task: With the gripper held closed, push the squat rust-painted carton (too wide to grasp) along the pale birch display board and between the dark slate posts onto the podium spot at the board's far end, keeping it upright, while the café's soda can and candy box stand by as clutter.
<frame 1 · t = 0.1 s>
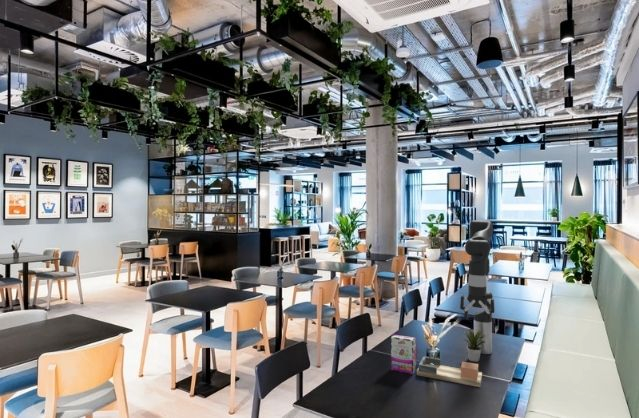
hand: (477, 320, 178), 29 cm above the table, fingers open, 8 cm apart
display board: (449, 375, 187), on the table
candy bar box: (403, 371, 193), on the table
soda can: (409, 364, 200), on the table
carton: (469, 375, 183), point 2 cm above the table, touching display board
house plant: (474, 360, 206), on the table
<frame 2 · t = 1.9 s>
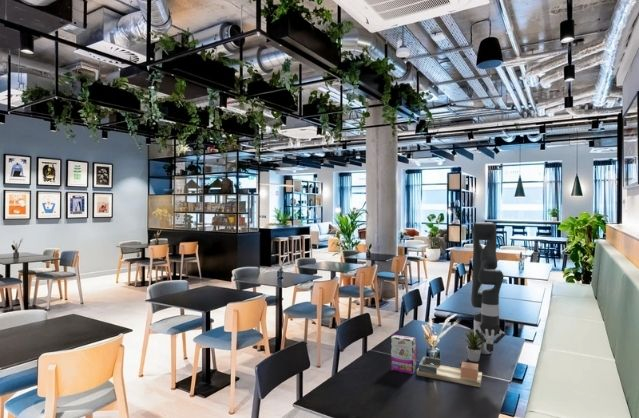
hand: (489, 351, 179), 15 cm above the table, fingers closed
nothing on the table moved.
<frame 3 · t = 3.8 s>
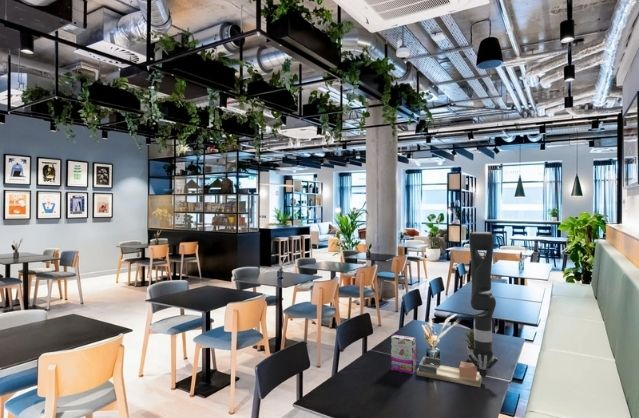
hand: (482, 376, 181), 3 cm above the table, fingers closed
carton: (468, 375, 183), point 2 cm above the table, touching gripper
everything else where it was.
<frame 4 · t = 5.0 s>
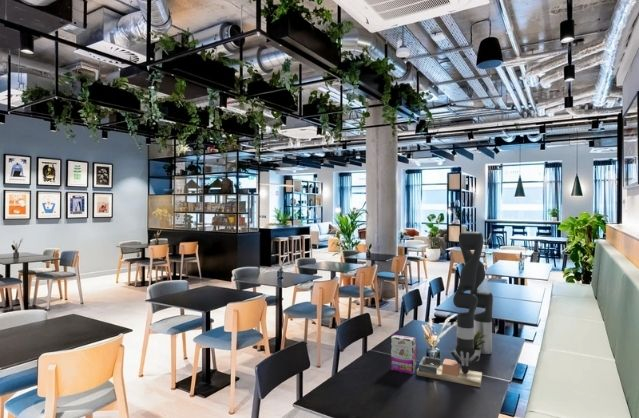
hand: (465, 373, 184), 3 cm above the table, fingers closed
carton: (451, 371, 187), point 2 cm above the table, touching gripper
everything else where it was.
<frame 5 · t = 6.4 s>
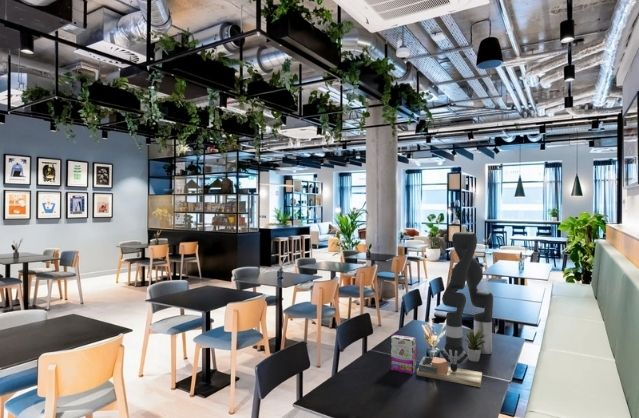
hand: (453, 371, 186), 3 cm above the table, fingers closed
carton: (440, 370, 189), point 2 cm above the table, touching gripper
everything else where it was.
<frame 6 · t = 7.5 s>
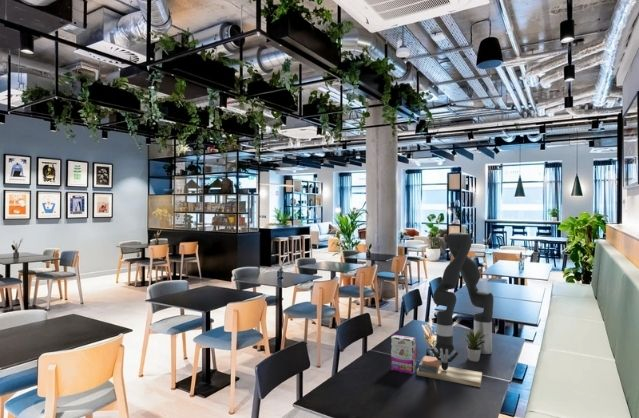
hand: (444, 369, 188), 3 cm above the table, fingers closed
carton: (431, 368, 190), point 2 cm above the table, touching display board, gripper
everything else where it was.
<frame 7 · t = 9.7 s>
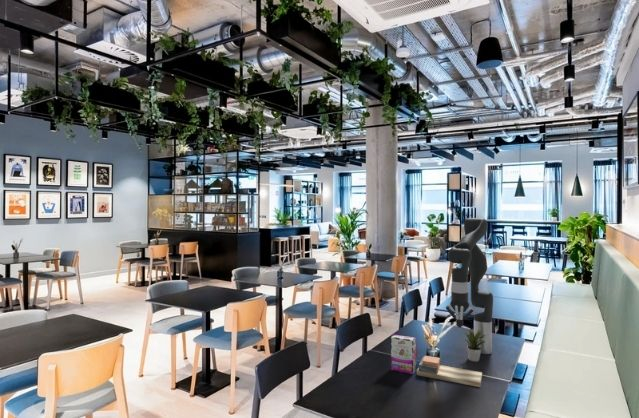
hand: (459, 326, 188), 23 cm above the table, fingers closed
carton: (431, 368, 190), point 2 cm above the table, touching display board
everything else where it was.
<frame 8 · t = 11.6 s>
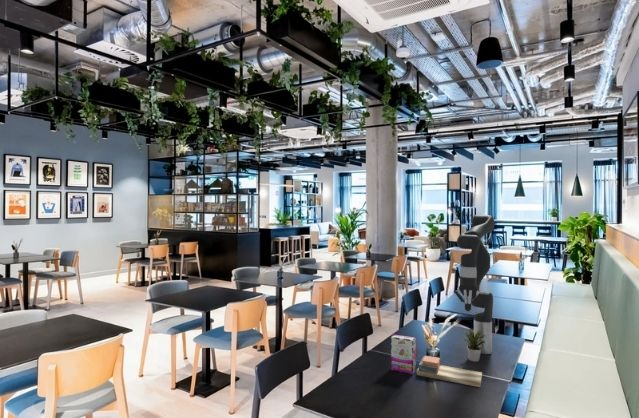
hand: (467, 310, 193), 29 cm above the table, fingers closed
nothing on the table moved.
at the end: carton inside the target area (0.7 cm from its centre), point 2.0 cm above the table; carton tilted 0° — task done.
